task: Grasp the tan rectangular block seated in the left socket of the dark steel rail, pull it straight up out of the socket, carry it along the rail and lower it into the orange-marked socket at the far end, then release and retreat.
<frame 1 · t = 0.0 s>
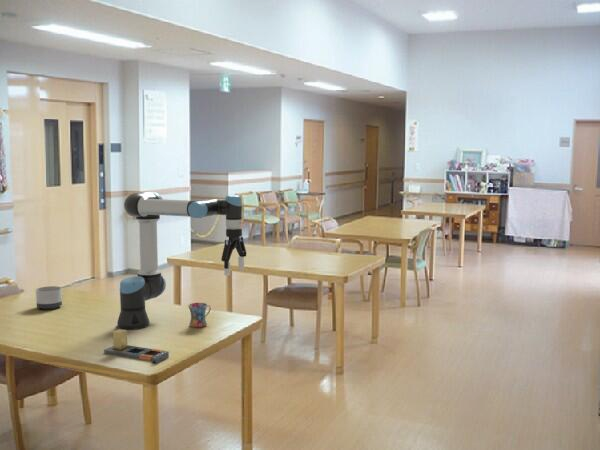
hand: (234, 272, 298), 28 cm above the table, fingers open, 13 cm apart
planter: (49, 308, 342), on the table
tan rectangular block: (120, 351, 266), point 1 cm above the table, touching rail
mug: (200, 325, 309), on the table
rail: (136, 356, 263), on the table
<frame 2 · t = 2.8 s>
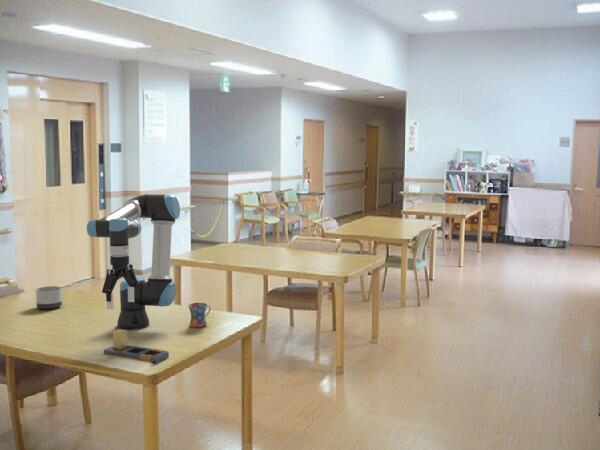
hand: (121, 305, 264), 21 cm above the table, fingers open, 13 cm apart
nothing on the table moved.
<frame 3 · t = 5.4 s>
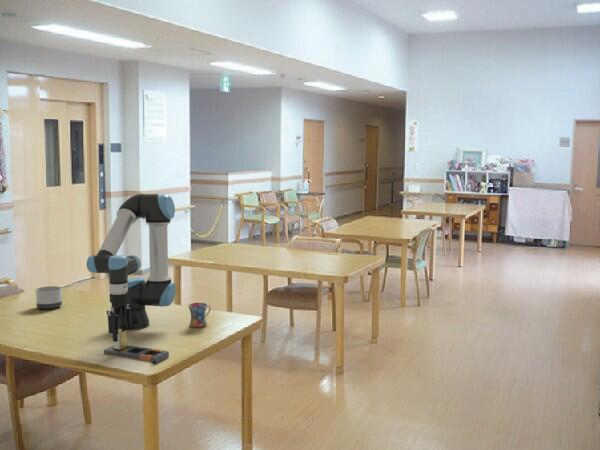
hand: (120, 346, 266), 3 cm above the table, fingers closed on tan rectangular block, 4 cm apart
tan rectangular block: (120, 351, 266), point 1 cm above the table, touching gripper, rail
everything else where it was.
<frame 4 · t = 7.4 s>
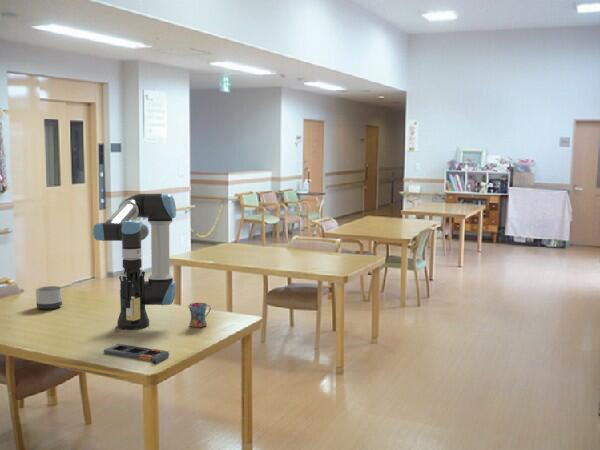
hand: (133, 314, 260), 18 cm above the table, fingers closed on tan rectangular block, 4 cm apart
tan rectangular block: (133, 319, 261), point 16 cm above the table, touching gripper
everything else where it was.
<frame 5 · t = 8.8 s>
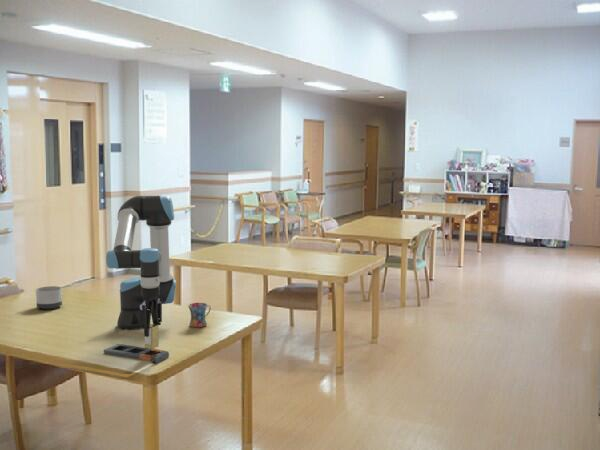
hand: (151, 342, 259), 7 cm above the table, fingers closed on tan rectangular block, 4 cm apart
tan rectangular block: (151, 347, 259), point 5 cm above the table, touching gripper
everything else where it was.
when the fingers open (4 cm above the table, at t = 9.7 s): tan rectangular block stays where it is, resting on rail.
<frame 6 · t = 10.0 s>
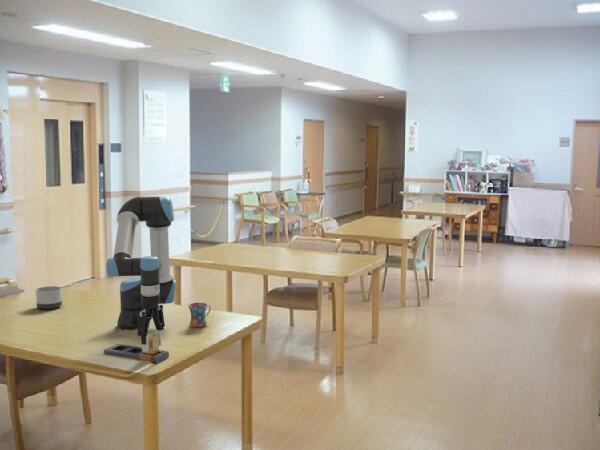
hand: (151, 348, 259), 5 cm above the table, fingers open, 8 cm apart
tan rectangular block: (152, 356, 260), point 1 cm above the table, touching rail
everything else where it was.
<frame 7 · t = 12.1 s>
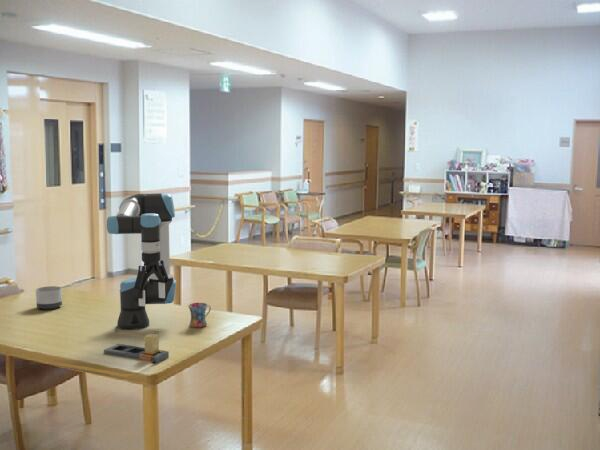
hand: (152, 301, 261), 23 cm above the table, fingers open, 13 cm apart
nothing on the table moved.
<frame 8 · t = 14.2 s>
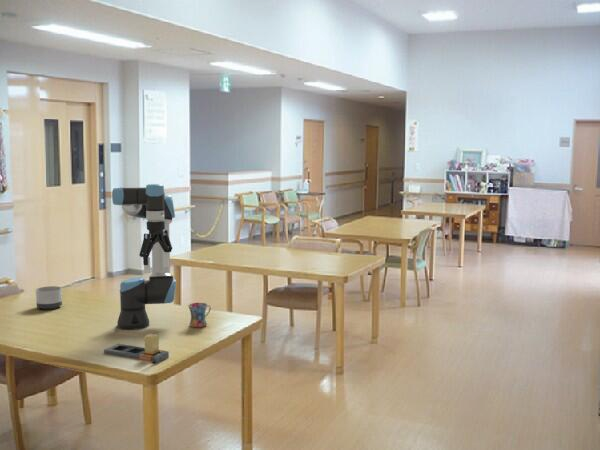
hand: (156, 269, 270), 35 cm above the table, fingers open, 13 cm apart
nothing on the table moved.
at the end: tan rectangular block 0.0 cm from the target spot on the rail, point 1.1 cm above the rail's base; tan rectangular block tilted 0°; the gripper is holding nothing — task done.
